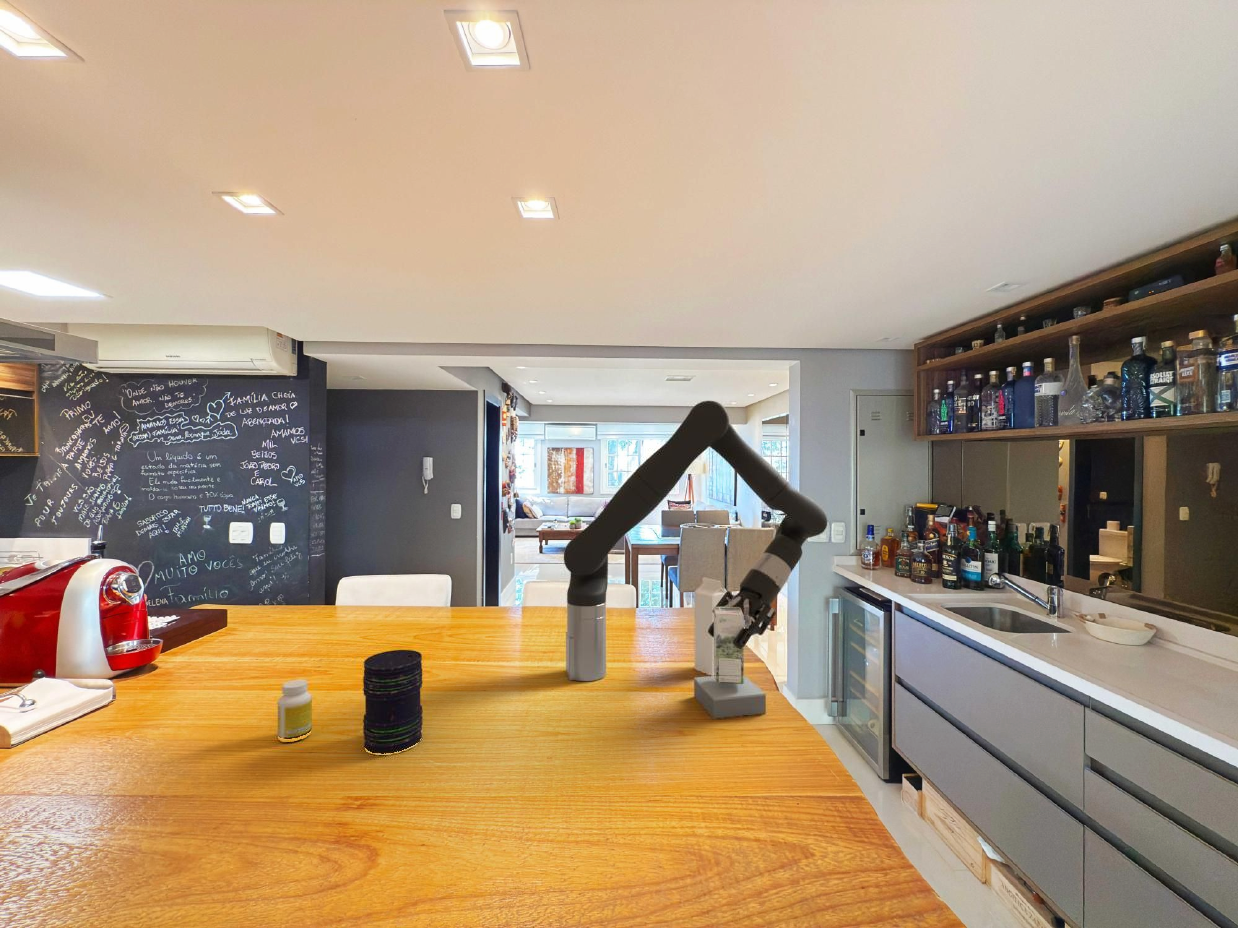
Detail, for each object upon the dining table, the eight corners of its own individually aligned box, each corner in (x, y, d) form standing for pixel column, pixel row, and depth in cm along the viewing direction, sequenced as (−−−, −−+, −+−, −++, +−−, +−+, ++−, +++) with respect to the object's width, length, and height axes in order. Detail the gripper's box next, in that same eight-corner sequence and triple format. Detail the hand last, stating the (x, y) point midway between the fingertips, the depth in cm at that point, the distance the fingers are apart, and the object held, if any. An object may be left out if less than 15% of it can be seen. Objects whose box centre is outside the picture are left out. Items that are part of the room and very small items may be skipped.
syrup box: (740, 674, 117) (740, 605, 117) (744, 685, 111) (744, 613, 111) (713, 673, 118) (713, 605, 118) (715, 684, 112) (715, 612, 112)
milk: (712, 676, 130) (711, 583, 130) (694, 669, 135) (693, 578, 134) (730, 670, 133) (729, 579, 133) (711, 663, 138) (711, 575, 138)
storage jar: (364, 761, 93) (364, 672, 93) (361, 736, 101) (361, 654, 102) (426, 747, 97) (426, 662, 97) (418, 724, 106) (418, 646, 106)
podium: (713, 719, 108) (713, 698, 108) (694, 696, 119) (694, 677, 119) (765, 713, 110) (765, 693, 110) (741, 691, 121) (741, 673, 121)
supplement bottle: (318, 732, 103) (318, 679, 103) (292, 746, 98) (292, 690, 98) (296, 727, 105) (296, 676, 105) (270, 741, 100) (270, 686, 100)
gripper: (734, 562, 124) (692, 620, 119) (780, 573, 112) (735, 639, 106) (752, 583, 127) (712, 641, 122) (799, 596, 114) (757, 662, 109)
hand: (723, 640), depth 114 cm, fingers closed on syrup box, 8 cm apart
